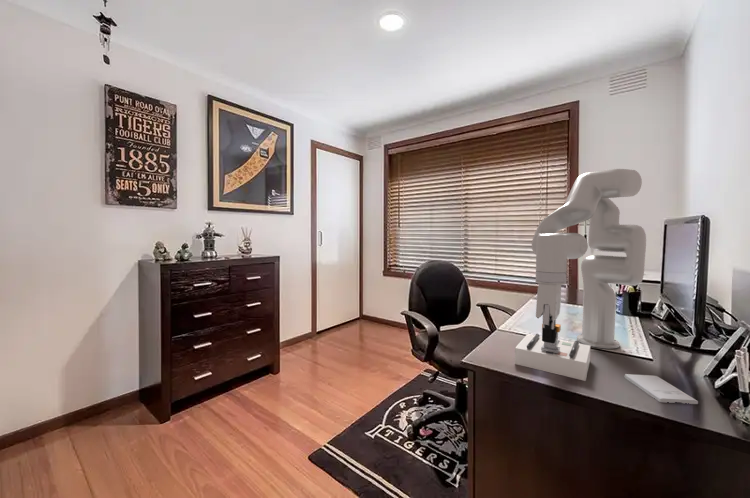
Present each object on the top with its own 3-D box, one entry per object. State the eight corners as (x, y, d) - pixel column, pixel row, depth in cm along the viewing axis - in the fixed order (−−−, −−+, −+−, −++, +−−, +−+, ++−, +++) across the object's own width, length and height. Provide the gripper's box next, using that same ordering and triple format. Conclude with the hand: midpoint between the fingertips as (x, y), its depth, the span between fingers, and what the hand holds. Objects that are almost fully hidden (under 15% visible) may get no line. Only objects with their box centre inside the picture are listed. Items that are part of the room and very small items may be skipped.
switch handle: (543, 346, 96) (544, 321, 95) (560, 349, 93) (560, 324, 93) (541, 350, 93) (541, 324, 92) (558, 353, 90) (559, 327, 90)
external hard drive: (657, 381, 86) (697, 406, 74) (624, 379, 87) (659, 404, 75) (657, 375, 86) (698, 399, 73) (624, 373, 87) (659, 397, 74)
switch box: (526, 348, 109) (527, 330, 108) (589, 361, 98) (590, 341, 97) (514, 363, 96) (515, 343, 96) (585, 380, 85) (586, 358, 85)
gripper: (540, 273, 97) (539, 332, 98) (530, 279, 85) (528, 346, 86) (569, 275, 92) (567, 337, 93) (562, 282, 80) (560, 352, 81)
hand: (548, 341), depth 90 cm, fingers closed
